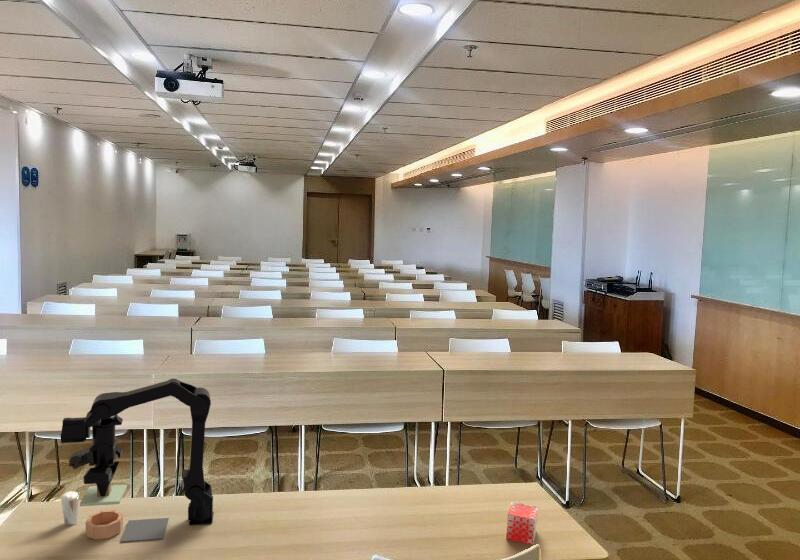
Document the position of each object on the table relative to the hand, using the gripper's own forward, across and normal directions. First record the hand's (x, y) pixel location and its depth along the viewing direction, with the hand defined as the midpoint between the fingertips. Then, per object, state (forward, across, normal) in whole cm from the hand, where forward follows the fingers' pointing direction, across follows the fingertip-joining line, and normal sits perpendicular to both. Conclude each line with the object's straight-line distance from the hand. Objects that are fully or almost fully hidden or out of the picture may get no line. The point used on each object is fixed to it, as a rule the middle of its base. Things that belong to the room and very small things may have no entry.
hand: (104, 493), depth 171 cm
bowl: (+12, 0, 0) cm, 12 cm away
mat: (+12, +1, +11) cm, 16 cm away
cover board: (+1, 0, 0) cm, 1 cm away
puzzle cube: (+11, +19, +119) cm, 121 cm away
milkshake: (+12, -6, -10) cm, 17 cm away
